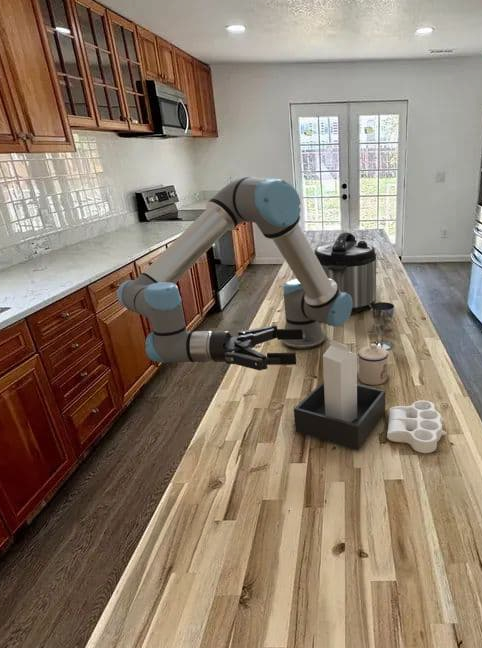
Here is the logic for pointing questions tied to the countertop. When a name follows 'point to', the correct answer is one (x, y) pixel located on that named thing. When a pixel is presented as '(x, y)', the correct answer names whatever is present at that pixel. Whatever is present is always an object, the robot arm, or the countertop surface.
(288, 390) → the countertop surface
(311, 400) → the tray
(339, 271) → the pressure cooker
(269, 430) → the countertop surface
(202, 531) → the countertop surface
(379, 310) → the wine glass
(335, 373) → the milk
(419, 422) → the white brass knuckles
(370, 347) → the teacup with lid
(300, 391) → the countertop surface
